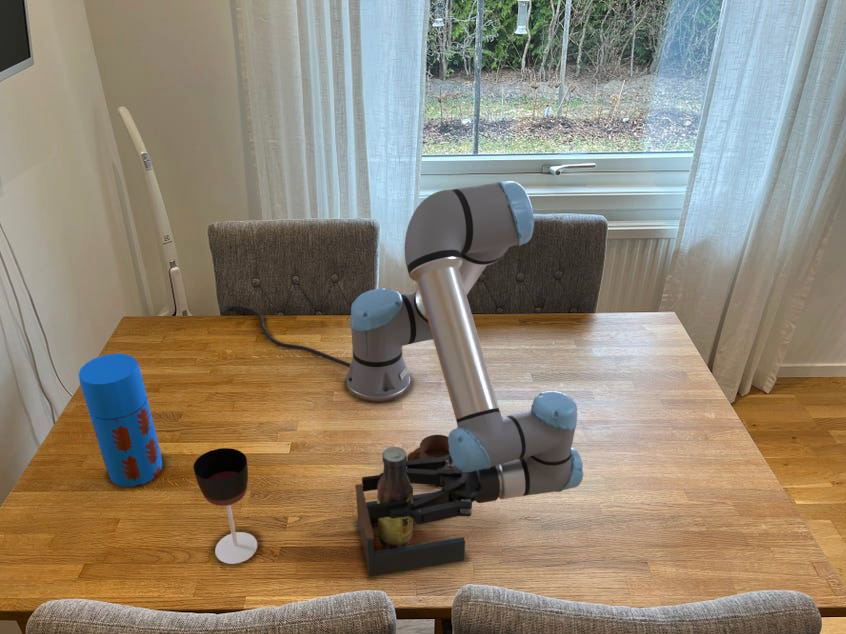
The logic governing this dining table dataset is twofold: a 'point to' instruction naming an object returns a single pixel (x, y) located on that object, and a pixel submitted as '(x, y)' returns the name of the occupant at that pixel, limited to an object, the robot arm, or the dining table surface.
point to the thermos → (121, 418)
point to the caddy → (405, 555)
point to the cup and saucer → (431, 448)
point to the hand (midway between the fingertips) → (365, 498)
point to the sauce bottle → (394, 499)
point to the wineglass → (226, 497)
